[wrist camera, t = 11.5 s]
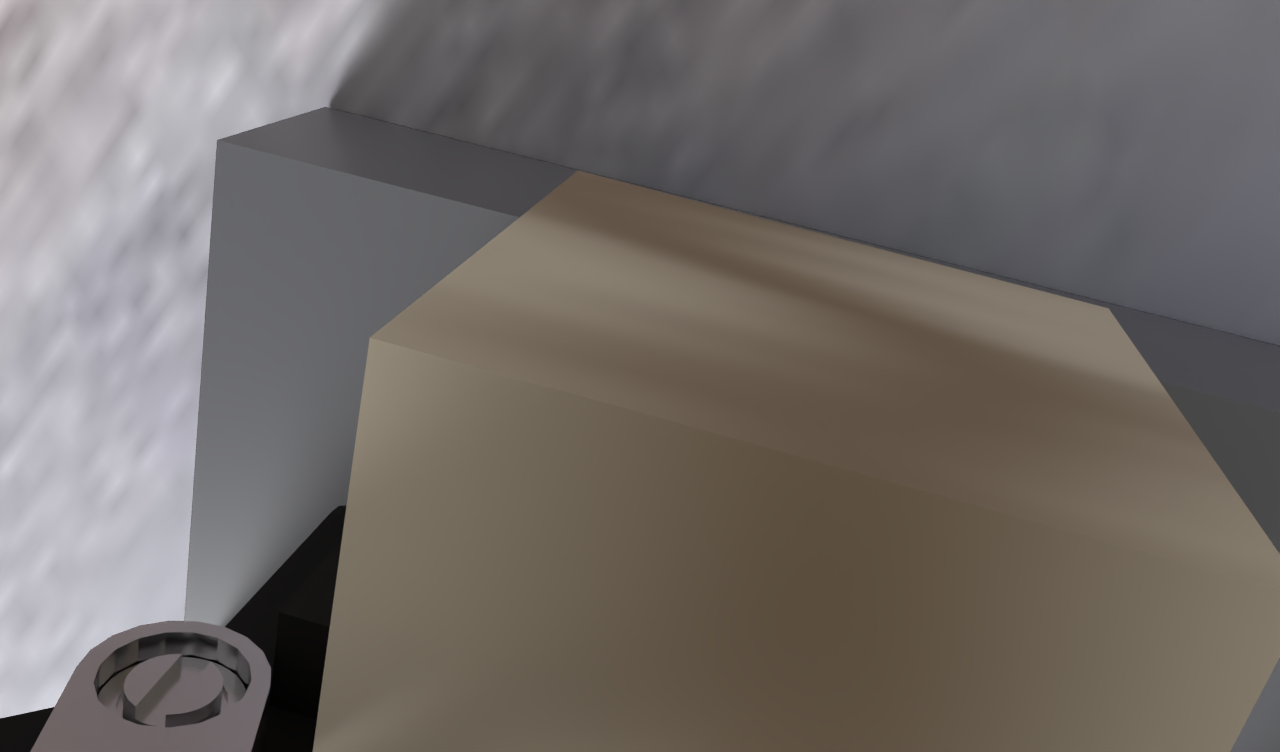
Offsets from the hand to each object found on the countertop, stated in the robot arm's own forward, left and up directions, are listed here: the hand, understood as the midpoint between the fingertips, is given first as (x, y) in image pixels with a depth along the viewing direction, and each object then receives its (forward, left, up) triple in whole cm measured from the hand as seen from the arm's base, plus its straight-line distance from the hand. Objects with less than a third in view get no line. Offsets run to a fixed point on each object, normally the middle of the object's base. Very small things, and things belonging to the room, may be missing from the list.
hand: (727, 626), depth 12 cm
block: (0, +1, 0) cm, 2 cm away
